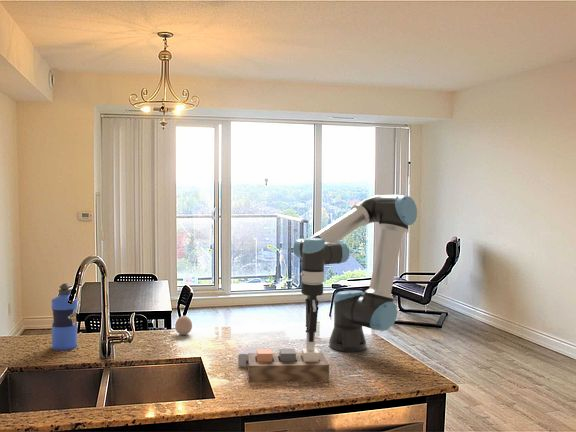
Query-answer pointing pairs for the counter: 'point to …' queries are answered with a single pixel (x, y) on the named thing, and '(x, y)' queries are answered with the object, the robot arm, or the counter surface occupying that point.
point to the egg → (183, 325)
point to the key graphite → (287, 355)
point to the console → (287, 369)
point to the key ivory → (310, 355)
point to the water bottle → (64, 321)
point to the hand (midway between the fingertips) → (310, 349)
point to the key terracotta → (264, 355)
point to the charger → (246, 355)
